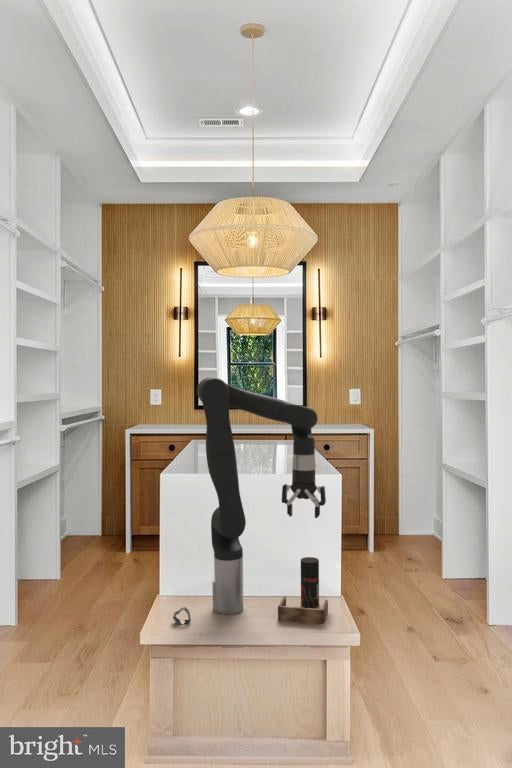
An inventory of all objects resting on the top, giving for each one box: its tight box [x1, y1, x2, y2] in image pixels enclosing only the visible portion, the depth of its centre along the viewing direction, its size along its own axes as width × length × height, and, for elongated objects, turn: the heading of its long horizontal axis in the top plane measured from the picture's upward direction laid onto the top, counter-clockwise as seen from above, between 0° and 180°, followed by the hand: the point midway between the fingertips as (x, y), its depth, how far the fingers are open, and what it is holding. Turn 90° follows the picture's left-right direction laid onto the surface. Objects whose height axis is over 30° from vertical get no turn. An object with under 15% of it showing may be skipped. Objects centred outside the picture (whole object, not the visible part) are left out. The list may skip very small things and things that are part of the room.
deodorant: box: [300, 556, 320, 609], centre depth 215 cm, size 6×6×15 cm
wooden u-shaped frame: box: [277, 595, 329, 625], centre depth 206 cm, size 14×9×4 cm, turn 76°
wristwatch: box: [172, 606, 192, 625], centre depth 202 cm, size 3×5×5 cm
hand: (303, 516), depth 216 cm, fingers open, 8 cm apart
